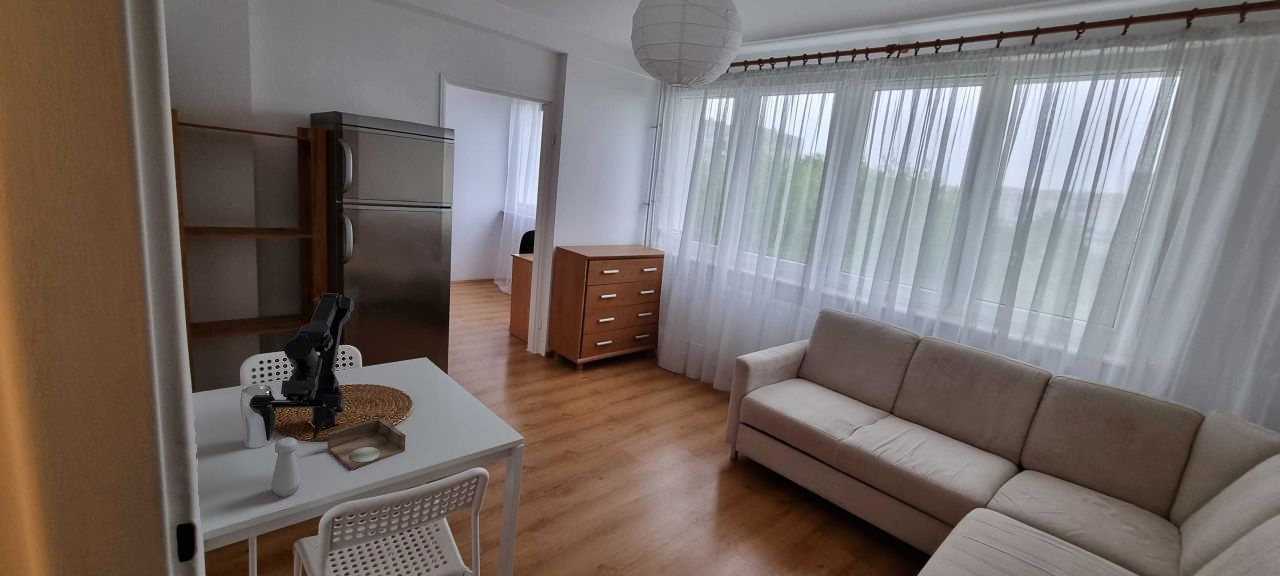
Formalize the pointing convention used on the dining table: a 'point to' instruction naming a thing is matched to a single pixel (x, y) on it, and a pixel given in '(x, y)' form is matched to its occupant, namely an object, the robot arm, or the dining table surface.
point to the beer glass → (254, 416)
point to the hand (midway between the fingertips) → (291, 439)
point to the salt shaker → (286, 468)
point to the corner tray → (366, 443)
